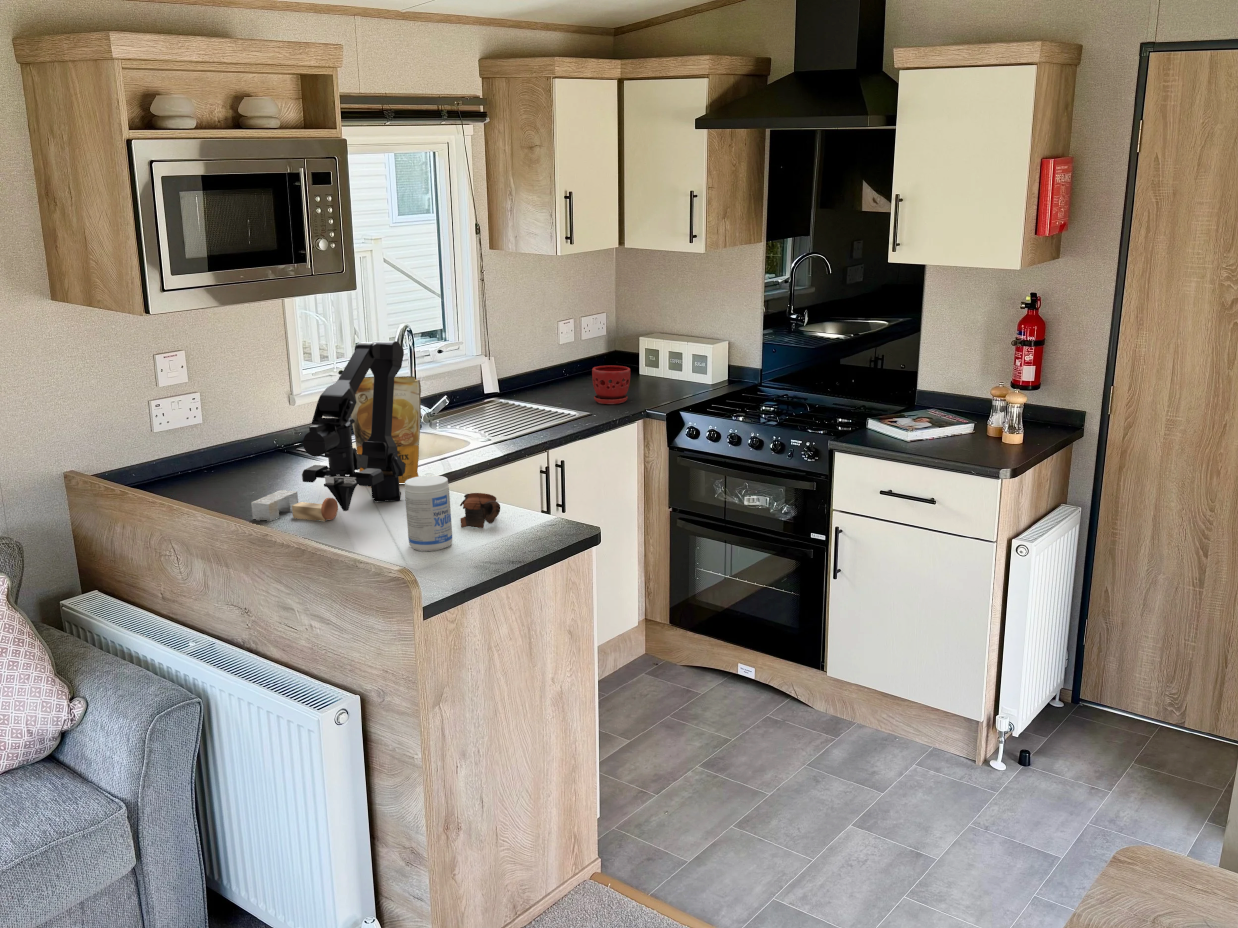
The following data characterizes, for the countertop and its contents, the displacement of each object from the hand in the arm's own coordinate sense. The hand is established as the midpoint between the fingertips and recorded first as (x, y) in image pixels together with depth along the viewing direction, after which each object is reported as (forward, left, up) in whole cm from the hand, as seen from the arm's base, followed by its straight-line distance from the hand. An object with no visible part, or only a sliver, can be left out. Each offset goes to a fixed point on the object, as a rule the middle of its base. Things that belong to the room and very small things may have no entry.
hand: (345, 510), depth 268 cm
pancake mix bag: (-9, -33, -3) cm, 34 cm away
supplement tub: (-20, +23, -3) cm, 30 cm away
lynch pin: (+8, -5, -3) cm, 9 cm away
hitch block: (+17, -10, -2) cm, 20 cm away
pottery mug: (-31, +10, -3) cm, 33 cm away
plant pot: (-81, -119, -3) cm, 144 cm away
